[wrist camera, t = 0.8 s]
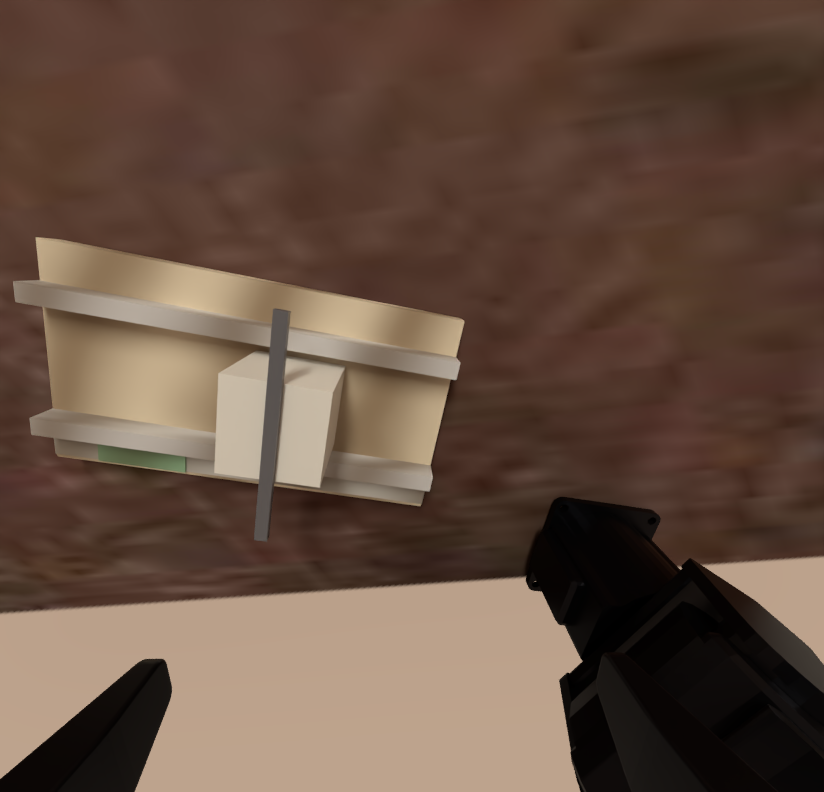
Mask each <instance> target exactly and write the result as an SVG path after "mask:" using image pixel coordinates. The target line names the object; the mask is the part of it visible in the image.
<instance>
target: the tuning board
mask: <svg viewBox="0 0 824 792" xmlns="http://www.w3.org/2000/svg"><path fill="white" fill-rule="evenodd" d="M36 245H37V255H38V265H39V275H40V280H36V281H13V286H14V294H15V302H19V303H24V304H30V305H35V306H41V307H43V315H44V325H45V335H46V345H47V355H48V365H49V375H50V385H51V395H52V405H53V409H50V410H48V411H45V412H43V413H41V414H38V415H36V416H33V417H31V418H30V427H31V435H37V436H44V437H51V438H54V444H55V453H56V454H57V455H58V456H60V457H67V458H75V459H82V460H89V461H96V462H104V463H111V464H118V465H125V466H133V467H140V468H147V469H154V470H162V471H169V472H176V473H183V474H190V475H198V476H205V477H212V478H219V479H227V480H234V481H241V482H248V483H256V484H259V479H253V478H246V477H239V476H232V475H225V474H217V473H214V467H215V442H216V418H217V394H218V373H220V372H221V371H223V370H225V369H226V368H228V367H230V366H231V365H233V364H235V363H236V362H238V361H240V360H241V359H243V358H245V357H246V356H248V355H250V354H251V353H253V352H255V351H256V350H258V351H264V352H270V339H271V327H272V315H273V309H275V308H277V309H282V310H287V311H291V315H290V325H289V335H288V346H287V356H292V357H298V358H304V359H309V360H315V361H321V362H326V363H332V364H338V365H343V366H345V373H344V380H343V387H342V394H341V400H340V407H339V414H338V421H337V428H336V435H335V441H334V446H333V449H332V452H331V455H330V458H329V461H328V464H327V467H326V470H325V473H324V476H323V479H322V482H321V485H320V488H318V487H311V486H303V485H296V484H289V483H282V482H275V481H274V486H277V487H285V488H292V489H299V490H306V491H314V492H321V493H328V494H335V495H343V496H350V497H357V498H364V499H372V500H379V501H386V502H393V503H401V504H408V505H415V506H421V504H422V501H423V496H424V492H425V491H430V487H431V483H432V479H433V476H432V471H431V466H430V465H431V461H432V457H433V452H434V448H435V444H436V440H437V436H438V431H439V427H440V423H441V419H442V414H443V410H444V406H445V402H446V397H447V393H448V389H449V385H450V380H451V379H452V380H456V379H457V375H458V371H459V367H460V362H459V360H458V359H457V358H456V355H457V351H458V347H459V342H460V338H461V334H462V330H463V325H464V321H463V320H462V319H461V318H457V317H452V316H447V315H442V314H437V313H432V312H427V311H422V310H417V309H411V308H406V307H401V306H396V305H391V304H386V303H381V302H376V301H371V300H366V299H360V298H355V297H350V296H345V295H340V294H335V293H330V292H325V291H320V290H315V289H310V288H304V287H299V286H294V285H289V284H284V283H279V282H274V281H269V280H264V279H259V278H254V277H248V276H243V275H238V274H233V273H228V272H223V271H218V270H213V269H208V268H203V267H198V266H192V265H187V264H182V263H177V262H172V261H167V260H162V259H157V258H152V257H147V256H142V255H136V254H131V253H126V252H121V251H116V250H111V249H106V248H101V247H96V246H91V245H86V244H80V243H75V242H70V241H65V240H60V239H49V238H38V237H36Z"/></svg>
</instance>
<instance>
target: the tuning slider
mask: <svg viewBox="0 0 824 792" xmlns="http://www.w3.org/2000/svg"><path fill="white" fill-rule="evenodd" d="M290 315H291V311H287V310H282V309H277V308H275V309H273V315H272V327H271V339H270V352H264V351H258V350H256V351H255V352H253V353H251V354H250V355H248V356H246V357H245V358H243V359H241V360H240V361H238V362H236V363H235V364H233V365H231V366H230V367H228V368H226V369H225V370H223V371H221V372H220V373H218V394H217V418H216V442H215V467H214V473H217V474H225V475H232V476H239V477H246V478H253V479H259V485H258V497H257V509H256V522H255V534H254V540H258V541H267V540H268V538H269V532H270V521H271V511H272V501H273V490H274V481H275V482H282V483H289V484H296V485H303V486H311V487H318V488H320V485H321V482H322V479H323V476H324V473H325V470H326V467H327V464H328V461H329V458H330V455H331V452H332V449H333V446H334V441H335V435H336V428H337V421H338V414H339V407H340V400H341V394H342V387H343V380H344V373H345V366H343V365H338V364H332V363H326V362H321V361H315V360H309V359H304V358H298V357H292V356H287V346H288V335H289V325H290Z"/></svg>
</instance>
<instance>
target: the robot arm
mask: <svg viewBox="0 0 824 792" xmlns="http://www.w3.org/2000/svg"><path fill="white" fill-rule="evenodd" d="M562 505H565V506H564V507H563V508H560V507H561V506H562ZM650 518H651V519H650ZM649 519H650V520H649ZM659 523H660V516H659V515H658V514H656V513H655V512H654V511H653V510H649V509H642V508H635V507H629V506H622V505H615V504H608V503H601V502H595V501H588V500H581V499H574V498H567V497H559V498H557V499H556V500H555V501H554V502H553V505H552V507H551V510H550V513H549V516H548V519H547V521H546V524H545V527H544V529H543V530H542V532H541V533H540V536H539V539H538V542H537V545H536V547H535V550H534V553H533V556H532V559H531V561H530V569H529V571H528V574H527V577H526V582H527V585H528V587H529V589H531V590H534V591H542V592H543V594H544V597H545V599H546V601H547V603H548V605H549V607H550V609H551V611H552V613H553V616H554V618H555V620H556V621H557V623H558V624H559V625H565V627H566V629H567V631H568V633H569V635H570V637H571V639H572V641H573V643H574V646H575V648H576V649H577V652H578V654H579V656H580V658H581V659H582V661H583V662H582V663H580V664H579V665H578V666H577V667H576V668H575V669H574V670H573V671H572V672H571V673H566V675H564V676H563V677H562V678H561V679H560V681H559V682H560V688H561V694H562V700H563V705H564V712H565V717H566V724H567V729H568V735H569V741H570V747H571V759H572V764H573V766H574V770H575V774H576V778H577V782H578V784H579V788H580V791H581V792H824V665H823V663H822V662H821V661H820V660H819V658H818V657H817V656H816V655H815V653H814V652H813V651H812V650H811V649H810V648H809V647H808V646H807V645H806V644H805V643H804V642H803V641H802V640H801V639H799V638H798V637H797V636H796V635H795V634H794V633H792V632H791V631H790V630H789V629H788V628H787V627H785V626H784V625H783V624H782V623H781V622H780V621H778V620H777V619H776V618H775V617H774V616H772V615H771V614H770V613H769V612H768V611H767V610H766V609H764V608H763V607H762V606H761V605H760V604H758V603H757V602H756V601H755V600H753V599H752V598H750V597H749V596H747V595H746V594H744V593H743V592H741V591H740V590H738V589H737V588H735V587H734V586H732V585H731V584H729V583H728V582H726V581H725V580H723V579H722V578H720V577H718V576H717V575H715V574H714V573H712V572H711V571H709V570H708V569H706V568H705V567H703V566H702V565H700V564H699V563H697V562H696V561H694V560H693V559H691V558H689V559H688V560H687V561H686V562H685V563H684V564H683V565H682V566H681V567H682V568H683V569H681V570H680V569H679V568H678V567H677V566H676V565H675V564H674V563H673V562H672V561H671V560H670V559H669V558H668V557H667V556H666V555H665V554H664V553H663V552H662V551H661V549H660V548H659V547H658V546H657V545H656V544H655V543H654V542H653V541H652V538H653V535H654V533H655V531H656V529H657V527H658V525H659ZM534 581H536V582H534ZM171 693H172V686H171V681H170V677H169V672H168V668H167V664H166V662H165V660H163V659H145V660H142V661H140V662H139V663H137V664H136V665H135V666H134V667H132V668H131V669H130V670H129V671H128V672H126V673H125V674H124V675H123V676H122V677H120V678H119V679H118V680H117V681H116V682H115V683H113V684H112V685H111V686H110V687H109V688H108V689H106V690H105V691H104V692H103V693H102V694H100V695H99V696H98V697H97V698H96V699H95V700H93V701H92V702H91V703H90V704H89V705H87V706H86V707H85V708H84V709H83V710H81V711H80V712H79V713H78V714H77V715H76V716H75V717H73V718H72V719H71V720H70V721H68V722H67V723H66V724H65V725H64V726H63V727H61V728H60V729H59V730H58V731H57V732H55V733H54V734H53V735H52V736H51V737H50V738H48V739H47V740H46V741H45V742H44V743H42V744H41V745H40V746H39V747H38V748H37V749H35V750H34V751H33V752H32V753H31V754H30V755H28V756H27V757H26V758H25V759H24V760H22V761H21V762H20V763H19V764H18V765H16V766H15V767H14V768H13V769H12V770H11V771H9V772H8V773H7V774H6V775H5V776H3V777H2V778H1V779H0V792H135V789H136V787H137V784H138V782H139V779H140V776H141V774H142V771H143V769H144V766H145V764H146V761H147V758H148V756H149V753H150V751H151V748H152V746H153V743H154V740H155V738H156V735H157V733H158V730H159V727H160V725H161V722H162V720H163V717H164V715H165V712H166V709H167V707H168V704H169V701H170V698H171Z"/></svg>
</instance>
